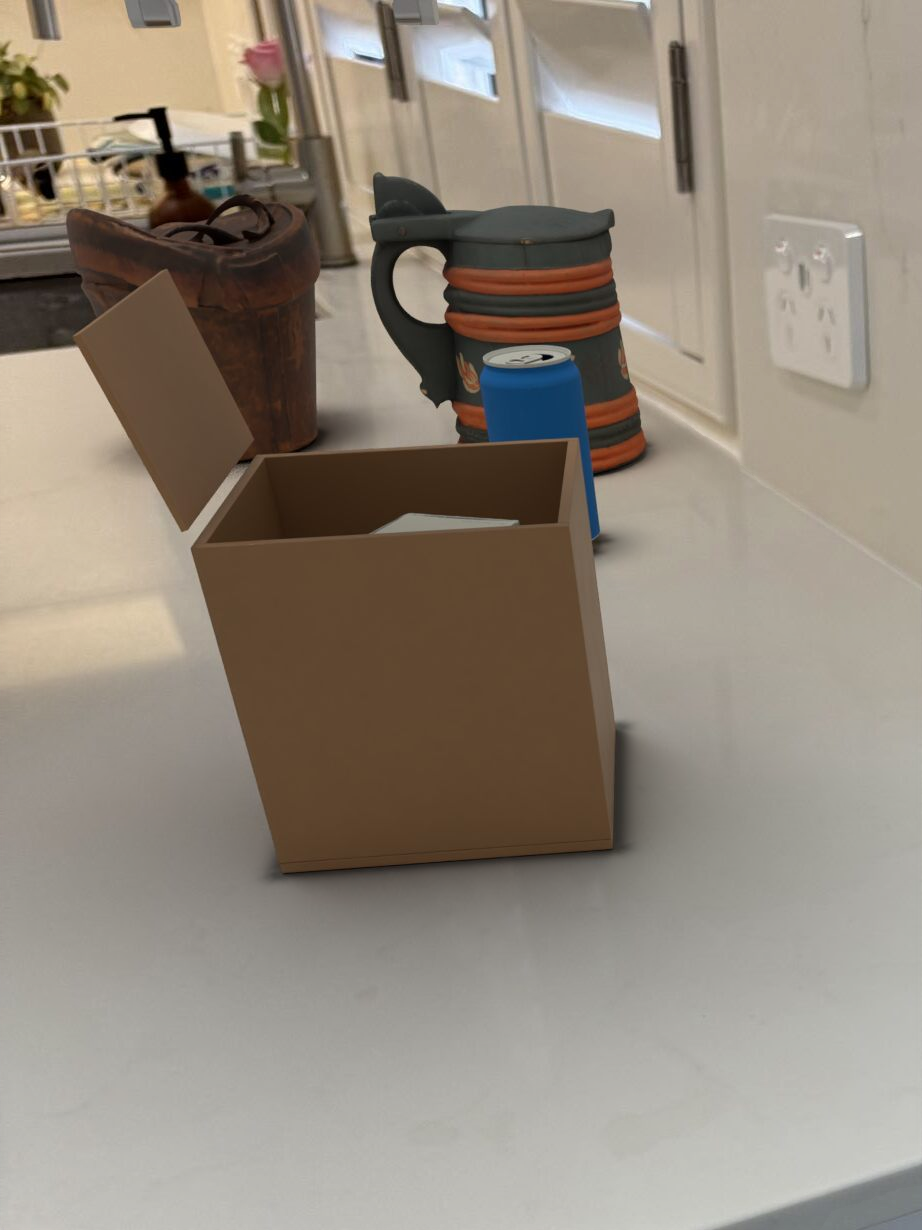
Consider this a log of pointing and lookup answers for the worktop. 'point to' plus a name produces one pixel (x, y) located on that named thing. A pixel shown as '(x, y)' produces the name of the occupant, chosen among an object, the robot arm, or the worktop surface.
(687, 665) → the worktop surface
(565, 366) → the beverage can
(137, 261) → the brown plant pot
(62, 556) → the worktop surface
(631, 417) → the beer stein
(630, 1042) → the worktop surface
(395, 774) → the carton
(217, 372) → the flap
